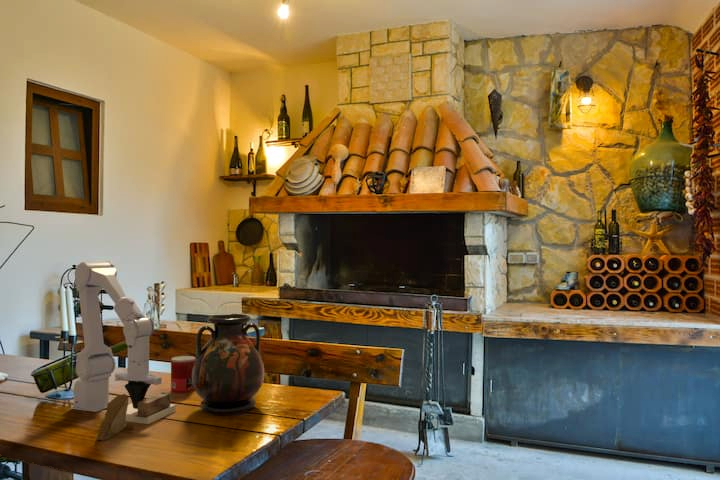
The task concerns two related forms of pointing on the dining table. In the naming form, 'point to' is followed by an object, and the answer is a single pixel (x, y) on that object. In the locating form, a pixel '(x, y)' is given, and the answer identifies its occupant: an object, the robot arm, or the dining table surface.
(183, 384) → the canned food
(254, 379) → the amphora vase
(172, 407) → the stool seat
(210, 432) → the dining table surface
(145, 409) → the stool leg
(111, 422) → the rock
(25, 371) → the dining table surface
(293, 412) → the dining table surface
